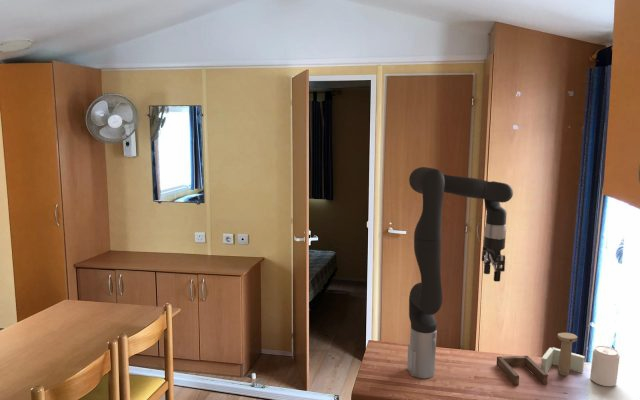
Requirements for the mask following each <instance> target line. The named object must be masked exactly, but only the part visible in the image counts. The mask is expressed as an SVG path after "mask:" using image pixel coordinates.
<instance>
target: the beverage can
mask: <svg viewBox="0 0 640 400" xmlns="http://www.w3.org/2000/svg"><path fill="white" fill-rule="evenodd" d="M620 358H621V357H620V355H619V351H618V350H617V349H615V348H614V347H610V346H608V345H607V346H606V345H596V346H595V347H594V349H593V351H592V359H591V365H590V366H591V368H590V375H589V377H590V379H591V381H593V382H594V383H596V384H597V385H600V386H603V387H614V386H616V385H617V382H618V381H617V380H618V373H619V365H620Z"/></svg>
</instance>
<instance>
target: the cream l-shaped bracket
mask: <svg viewBox="0 0 640 400" xmlns="http://www.w3.org/2000/svg"><path fill="white" fill-rule="evenodd" d="M560 350H561V348H557V347H554V346H553V347H549V348H548V349H547V350H546V351H545V353H544V354H543V356H542V357H541V362H540V368H541V369H542V370H543V371H544V372H546V373H548V371H549V370H550V368H551V367H552V366H553V365H554V366H557V367H559V355H560ZM585 358H586V356H585V355H582V354H577V353H575V352H571V366H570V370H569V371H574V372H578V373H581V374H583V372H584V369H585V367H584V366H585Z"/></svg>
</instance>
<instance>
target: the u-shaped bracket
mask: <svg viewBox="0 0 640 400" xmlns="http://www.w3.org/2000/svg"><path fill="white" fill-rule="evenodd" d="M496 366H497V368H498V367H499V368H498V369H499V370H500V371H501V372H502V373H503V374H504V376H505V377H507V379H508V380H509V381H510V382H511V383H512V384H513V386H519V385H520V384H519V383H520V375H519V373H517V372H516V370H514V367H516V368H517V367H518V366H521V367H525V368H526V367H527V368H528V369H529V370H530V371H531V372H532V373H533V374H532V373H531V372H530V371H529V370H528V369H527V368H526V369H527V370H528V371H529V372H530V373H531V374H532V375H533V376H534V377H535V378H536V379H537V380H538V381H539V382H540V383H541V384H542V385H547V384H548V377H549V375H548V374H549V373H548V372H544V371H543V370H542V369H541V366H539V365H538V364H537V363H536V362H535V361H534V360H533V359H532V358H531V357H529V355H508V356H504V355H503V356H497V357H496Z"/></svg>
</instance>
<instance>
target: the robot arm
mask: <svg viewBox="0 0 640 400" xmlns="http://www.w3.org/2000/svg"><path fill="white" fill-rule="evenodd" d="M408 181H409V186H410V188H411V189H412V190H414V191H415V192H416V193H418V194H422V211H421V214H420V217H419V219H418V222H417V223H416V225H415V229H414V231H413V250H414V256H415V259H416V263H417V266H418V269H419V272H420V273H419V274H420V279H421V280H420V282H417V283H416V284H414V285H413V286H412V287H411V289H410V291H409V296H408V298H409V299H408V317H409V321H410V336H409V337H410V338H409V339H410V340H409V344H408V345H407V362H406V364H407V365H406V369H407V371H408V373H409V374H410V376H411V377H413V378H418V379H430V378H433V376H435V370H436V351H437V350H436V348H437V334H438V333H437V331H438V322H437V320H436V318H435V316H434V315H436V314H437V313H438V312H439V311H440V309H441V307H442V306H443V290H442V289H443V288H442V279H441V278H442V275H441V273H442V272H441V267H442V266H441V265H442V262H441V261H442V260H441V259H442V258H441V257H442V253H441V251H442V217H443V216H442V213H443V212H442V211H443V202H444V195H445V193H447V194H452V195H456V196H459V197H464V198H471V199H478V200H484V206H485V210H486V216H485V225H484V230H483V231H484V232H483V233H484V235H483V245H482V251H481V262H483V266H484V267H483V274H484V275H490V274H491V266H492V267H493V270H494V272H493V281H494V282H498V283H499V282H501V277H502V276H501V274H502V272H505V271H506V270H505V269H506V268H505V267H506V256H505V254H501V252H502V250H504V249H505V247H506V236H507V215H508V214H507V212H508V211H507V210H506V209H505V208H504V207H502V206H501V203H507V202H509V201H510V200H511V199H512V198H513V196H514V189H513V188H512V186H511V185H509V184H508V183H504V182H500V181H489V180H485V179H481V178H474V177H466V176H459V175H457V176H456V175H449V174H444V173H442V172H441V170H439V169H437V168H433V167H428V166H427V167H426V166H421V167H417V168H415V169H414V170H413V171H412V172H411V173H410V175H409V179H408Z"/></svg>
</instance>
